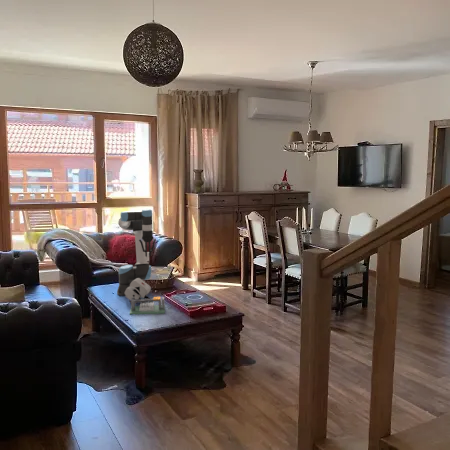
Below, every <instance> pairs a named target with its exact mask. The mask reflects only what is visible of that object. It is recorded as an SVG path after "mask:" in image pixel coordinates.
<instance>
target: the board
mask: <svg viewBox="0 0 450 450" xmlns="http://www.w3.org/2000/svg"><path fill="white" fill-rule="evenodd" d="M165 309H166V304H164V310H159V304H158V305H157V304H154V311H148V312H140V305H135V310H134V311H131V308H130V310H129V315H131V314H135V315H158V314H165V311H166V310H165Z"/></svg>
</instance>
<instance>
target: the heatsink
mask: <svg viewBox="0 0 450 450" xmlns="http://www.w3.org/2000/svg"><path fill="white" fill-rule="evenodd" d="M139 303H140V304H139V306H140V312H148V311H154V305H155V302H146V303H145V302H143V303H142V302H139Z"/></svg>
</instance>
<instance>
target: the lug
mask: <svg viewBox="0 0 450 450" xmlns="http://www.w3.org/2000/svg"><path fill="white" fill-rule="evenodd" d="M158 305H159V310H164V305H165V296H162V297H161V300H160V301H158Z"/></svg>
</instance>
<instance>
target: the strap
mask: <svg viewBox="0 0 450 450" xmlns="http://www.w3.org/2000/svg"><path fill="white" fill-rule="evenodd" d="M133 300H134V303H136V304H138V303H141V302H154V303H155V302H159V301H160V300H162V297H161V296H153V297H152V298H150V299H146V298H141V299H133Z"/></svg>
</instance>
